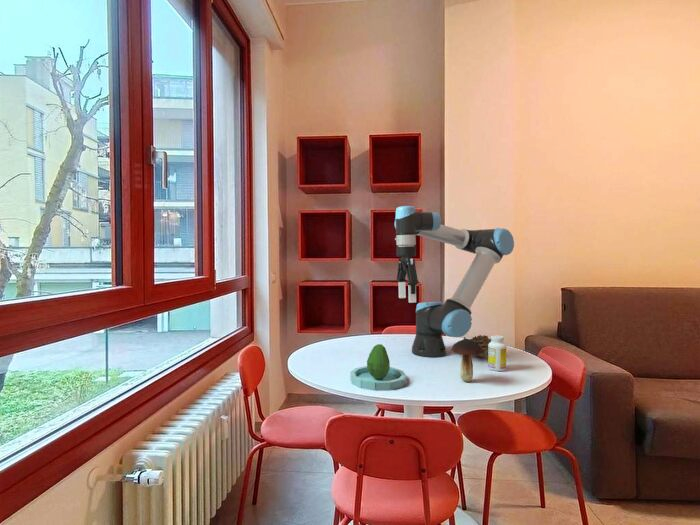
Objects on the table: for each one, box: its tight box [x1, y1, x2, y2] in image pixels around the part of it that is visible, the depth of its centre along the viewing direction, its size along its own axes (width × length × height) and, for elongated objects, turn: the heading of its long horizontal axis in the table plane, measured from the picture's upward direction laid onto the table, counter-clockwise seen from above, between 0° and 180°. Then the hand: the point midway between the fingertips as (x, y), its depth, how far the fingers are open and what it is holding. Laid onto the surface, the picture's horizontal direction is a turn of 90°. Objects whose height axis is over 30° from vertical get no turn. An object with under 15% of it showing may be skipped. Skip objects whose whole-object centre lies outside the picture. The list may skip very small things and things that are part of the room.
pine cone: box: [463, 334, 492, 358], centre depth 171 cm, size 22×10×10 cm, turn 19°
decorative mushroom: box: [450, 338, 483, 383], centre depth 135 cm, size 11×11×15 cm
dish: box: [349, 365, 407, 391], centre depth 135 cm, size 19×19×2 cm
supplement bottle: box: [487, 335, 507, 372], centre depth 150 cm, size 7×7×13 cm
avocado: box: [366, 343, 391, 379], centre depth 135 cm, size 8×8×12 cm
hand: (407, 300), depth 152 cm, fingers open, 13 cm apart
